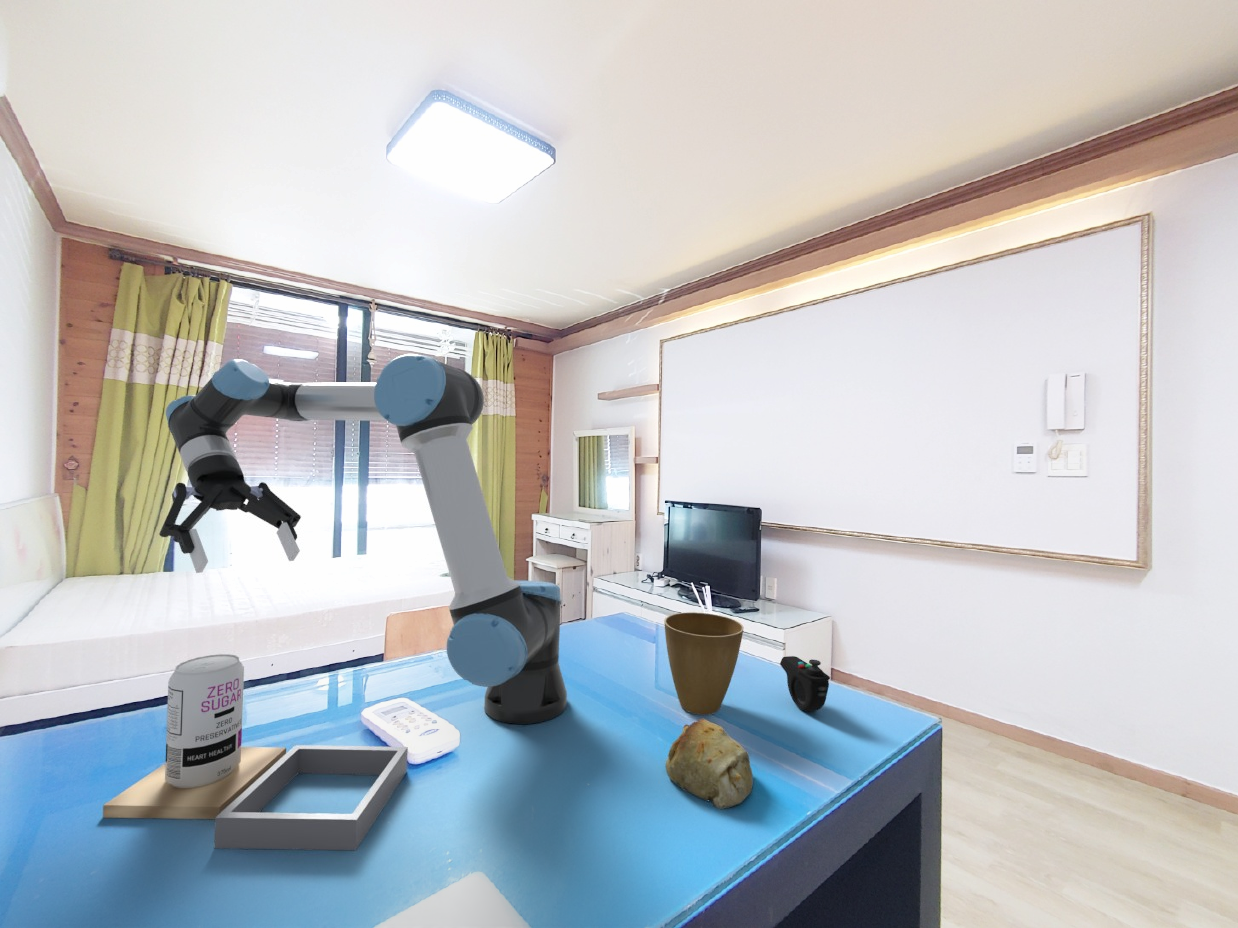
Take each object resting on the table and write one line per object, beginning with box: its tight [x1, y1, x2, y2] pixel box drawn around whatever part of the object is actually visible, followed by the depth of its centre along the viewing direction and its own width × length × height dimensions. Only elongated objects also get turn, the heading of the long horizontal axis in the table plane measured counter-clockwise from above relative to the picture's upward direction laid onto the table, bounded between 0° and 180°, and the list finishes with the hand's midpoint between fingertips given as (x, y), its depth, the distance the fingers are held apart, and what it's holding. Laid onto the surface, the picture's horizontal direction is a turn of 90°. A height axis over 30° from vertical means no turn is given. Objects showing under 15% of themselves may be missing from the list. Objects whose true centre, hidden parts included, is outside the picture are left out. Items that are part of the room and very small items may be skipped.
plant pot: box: [663, 611, 744, 716], centre depth 102 cm, size 15×15×16 cm
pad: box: [102, 746, 287, 820], centre depth 73 cm, size 14×14×2 cm
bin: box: [213, 744, 409, 851], centre depth 70 cm, size 16×16×4 cm
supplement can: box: [164, 653, 245, 788], centre depth 73 cm, size 8×8×15 cm
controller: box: [779, 655, 831, 712], centre depth 104 cm, size 4×12×10 cm, turn 13°
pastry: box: [665, 717, 754, 810], centre depth 78 cm, size 14×12×8 cm
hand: (251, 561), depth 88 cm, fingers open, 13 cm apart
